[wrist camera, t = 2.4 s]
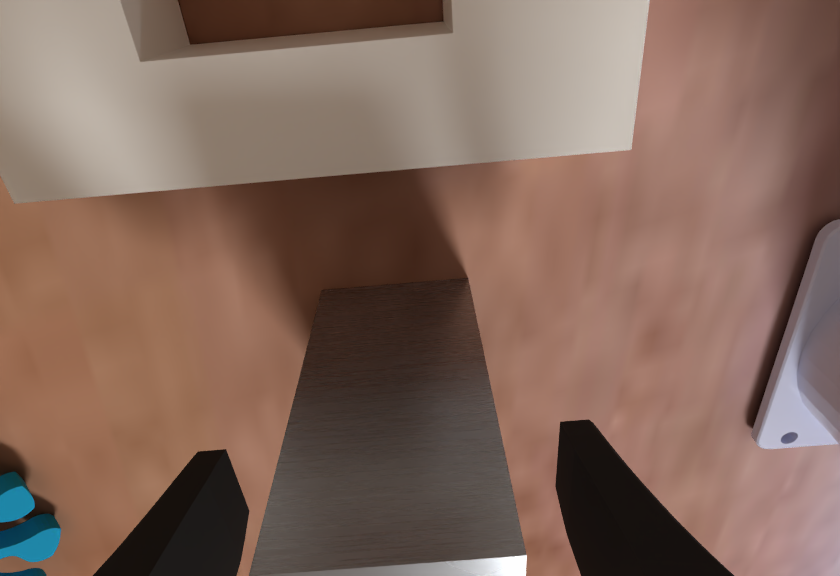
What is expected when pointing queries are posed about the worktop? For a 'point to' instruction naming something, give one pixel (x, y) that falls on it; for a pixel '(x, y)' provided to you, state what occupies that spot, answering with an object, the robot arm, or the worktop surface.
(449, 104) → the socket block
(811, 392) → the robot arm
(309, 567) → the square peg
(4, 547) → the gear
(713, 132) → the worktop surface
